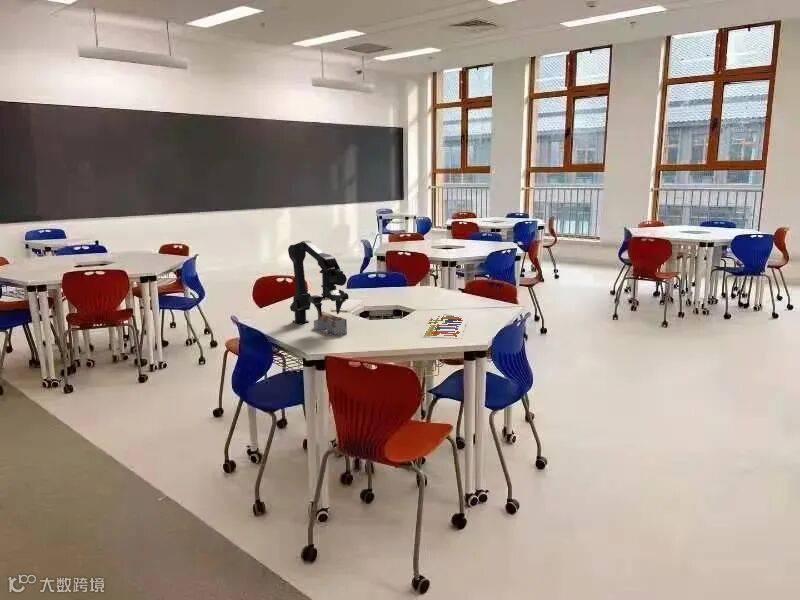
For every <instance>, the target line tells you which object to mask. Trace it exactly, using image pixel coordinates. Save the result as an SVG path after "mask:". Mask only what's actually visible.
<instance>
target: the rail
mask: <svg viewBox="0 0 800 600" xmlns="http://www.w3.org/2000/svg"><path fill="white" fill-rule="evenodd" d="M339 317H340V316H336V315H334V314H331V313H328V312H325V311H322V317H320V316H319V313H318V312H317V320H318V319H319V320H321V321H323V322H326V323H327V319H331V320H334V321H335V320H341V318H342V317H341V318H339Z"/></svg>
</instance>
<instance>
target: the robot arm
mask: <svg viewBox="0 0 800 600" xmlns="http://www.w3.org/2000/svg"><path fill="white" fill-rule="evenodd" d="M287 251H288V257H289V259H290V260H291V262H292V263H293V264H292V265H293V275H294V284H295V285H294V286H295V292H294V295H293V302H292V303H291V304H290V306H289V309H290V311H291V312H293V313H294V320H292V321H293V322H292V323H294V322H295V323H294V324H296V323H297V325H300V324H299V323H301V324H307V323H310V321H309V320H307V311H310V309H311V304H313V306H314V307H315V309H316V311H317V314H318V313H319V316H320V317H322V312H323V311H322V306H323V301H331V302H335V307H336V312H335V313H336V315H339V314H340V312H339V311H340V308H341V306H342V304H343V302H345V301H346V299H349V294H348V293H347V292H345V290H344V289H337V286H340V287H342V286H344V285H346V283H347V280H348V279H347V275H346V274H345V273H344V271H343V270H341V268H340V265H339V264H338V261H337V259H336V257H334V256H333V255H331V254H328V253H325V252H324V251H322V250H321V249H320V248H318V247H317V245H315V244H314V243H312V241H311V240H302V241H300V242H298V243H295V244H290V245H289V247H287ZM306 254H309V256H311V257H312V258H313V259H315V261H317V266H318V267H320V268H321V270H319V272H318V273H319V274H321V276H322V277H321V279H322V284H321V285H320V287H321V288H322V293H321V294H320V295H321V296H320V295H311V293H309V292H308V291H307V288H306V275H305V268H304V267H305V265H304V262H305V259H306V256H307V255H306ZM306 322H307V323H306Z"/></svg>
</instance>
